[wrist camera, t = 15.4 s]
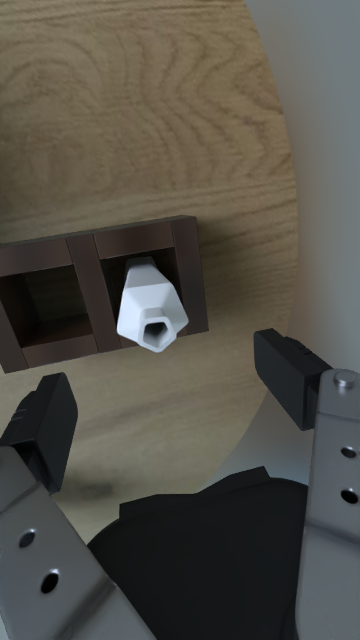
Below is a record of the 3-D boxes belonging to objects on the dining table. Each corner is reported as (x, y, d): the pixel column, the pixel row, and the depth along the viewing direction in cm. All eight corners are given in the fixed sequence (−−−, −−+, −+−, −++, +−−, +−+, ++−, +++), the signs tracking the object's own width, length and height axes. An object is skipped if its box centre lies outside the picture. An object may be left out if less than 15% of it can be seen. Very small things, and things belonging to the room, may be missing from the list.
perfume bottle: (172, 264, 29) (214, 315, 15) (151, 300, 30) (173, 378, 16) (132, 241, 27) (139, 275, 14) (112, 280, 28) (100, 347, 15)
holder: (181, 214, 27) (196, 216, 22) (194, 309, 31) (209, 331, 26) (-12, 246, 25) (-50, 256, 20) (27, 343, 29) (4, 374, 24)
